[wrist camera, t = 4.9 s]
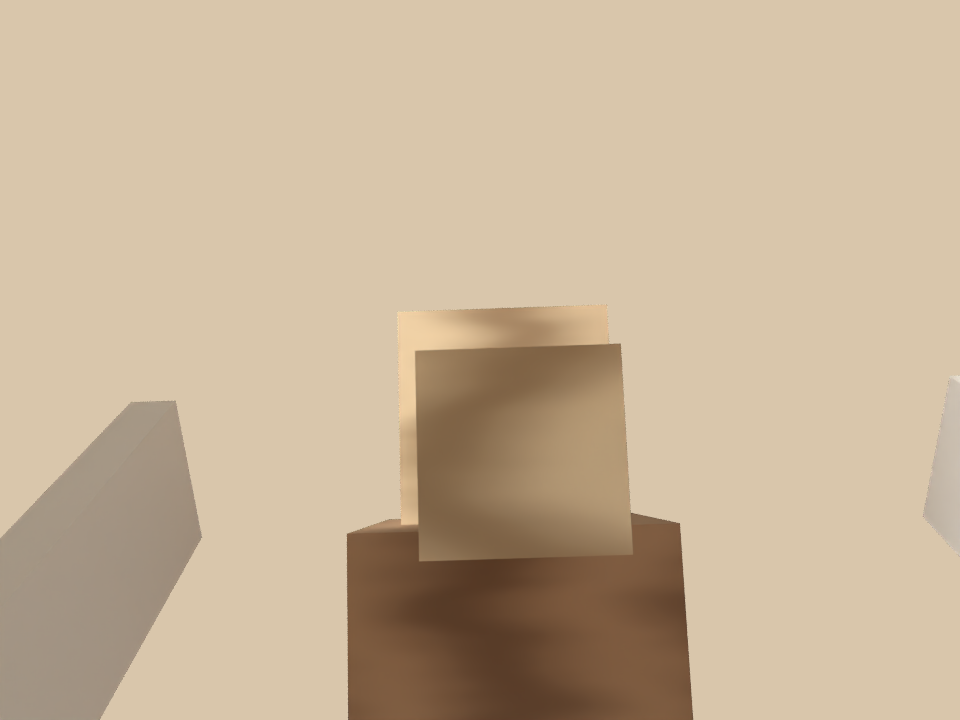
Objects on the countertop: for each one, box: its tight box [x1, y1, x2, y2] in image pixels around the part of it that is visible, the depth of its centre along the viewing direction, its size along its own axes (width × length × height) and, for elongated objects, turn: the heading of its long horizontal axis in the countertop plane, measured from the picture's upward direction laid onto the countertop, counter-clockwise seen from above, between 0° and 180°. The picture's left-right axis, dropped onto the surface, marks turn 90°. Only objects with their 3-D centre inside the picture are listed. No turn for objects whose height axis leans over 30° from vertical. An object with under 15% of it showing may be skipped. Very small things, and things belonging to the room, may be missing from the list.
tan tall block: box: [398, 305, 633, 561], centre depth 23 cm, size 7×18×7 cm, turn 179°
